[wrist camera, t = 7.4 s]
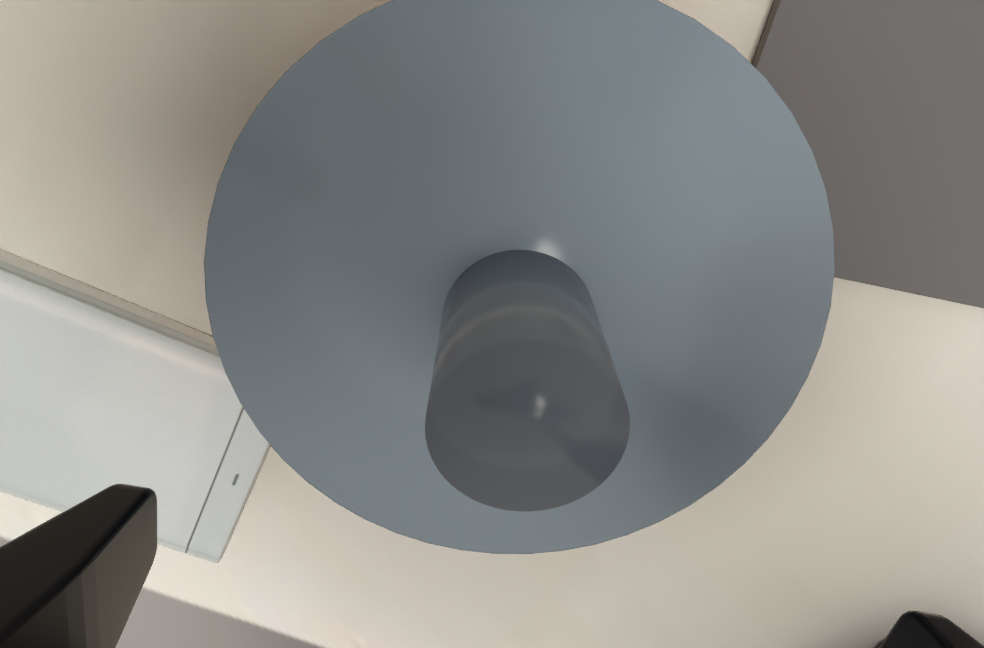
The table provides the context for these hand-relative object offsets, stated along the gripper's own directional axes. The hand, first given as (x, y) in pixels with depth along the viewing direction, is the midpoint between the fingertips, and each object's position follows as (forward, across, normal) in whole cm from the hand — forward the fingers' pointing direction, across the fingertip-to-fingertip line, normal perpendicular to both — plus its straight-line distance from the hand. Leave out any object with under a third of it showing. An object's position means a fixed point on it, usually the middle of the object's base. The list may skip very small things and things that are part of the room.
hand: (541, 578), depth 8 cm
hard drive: (+13, +12, +8) cm, 20 cm away
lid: (+8, 0, 0) cm, 8 cm away
